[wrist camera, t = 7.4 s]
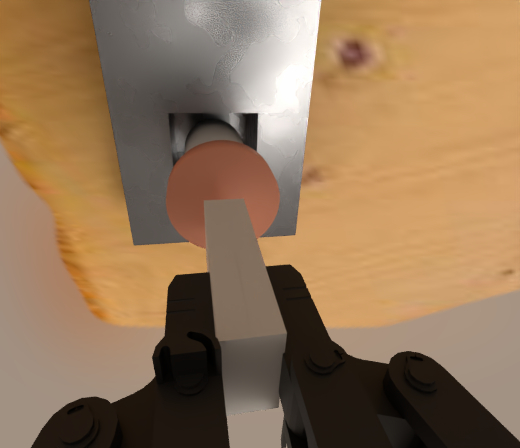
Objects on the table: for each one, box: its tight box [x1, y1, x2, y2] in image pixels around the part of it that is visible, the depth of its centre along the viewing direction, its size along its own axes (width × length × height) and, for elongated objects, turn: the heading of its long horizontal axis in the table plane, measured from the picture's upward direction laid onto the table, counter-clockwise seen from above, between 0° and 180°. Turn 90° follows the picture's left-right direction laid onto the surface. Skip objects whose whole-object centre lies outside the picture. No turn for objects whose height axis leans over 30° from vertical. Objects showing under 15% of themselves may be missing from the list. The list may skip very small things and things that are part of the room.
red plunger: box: [166, 119, 280, 248], centre depth 18 cm, size 5×5×8 cm
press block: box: [89, 0, 321, 245], centre depth 20 cm, size 24×11×6 cm, turn 178°
